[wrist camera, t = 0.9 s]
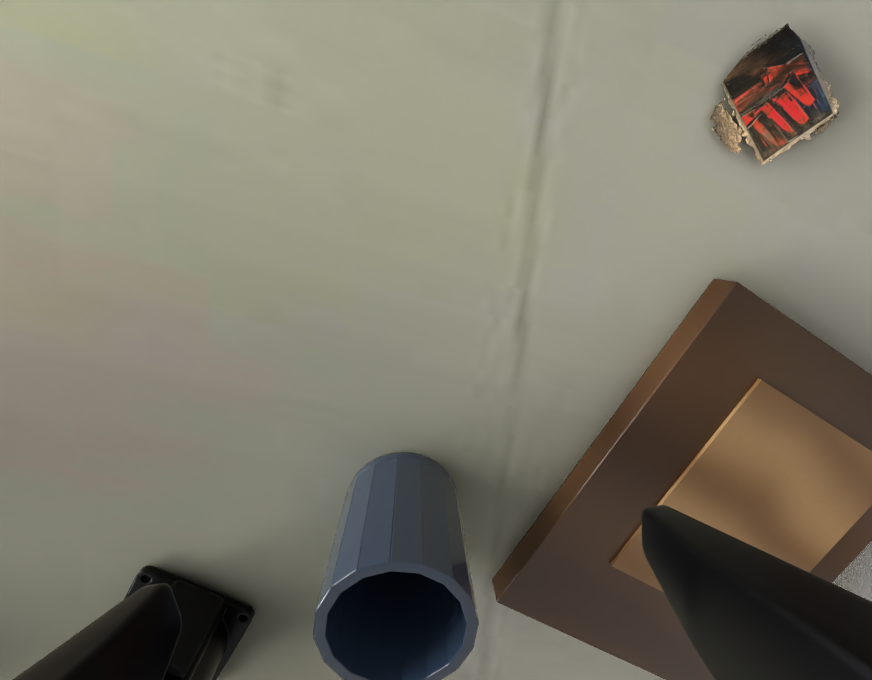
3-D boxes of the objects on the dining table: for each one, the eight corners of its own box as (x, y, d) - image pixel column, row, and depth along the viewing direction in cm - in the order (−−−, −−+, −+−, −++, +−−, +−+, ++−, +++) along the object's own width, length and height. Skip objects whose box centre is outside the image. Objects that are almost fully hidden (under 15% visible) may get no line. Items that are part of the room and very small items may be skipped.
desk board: (701, 678, 26) (720, 707, 25) (491, 580, 24) (497, 605, 22) (932, 427, 23) (972, 442, 21) (713, 277, 20) (740, 281, 18)
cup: (422, 564, 23) (425, 712, 16) (327, 520, 22) (285, 658, 15) (478, 482, 22) (508, 603, 15) (381, 433, 21) (363, 536, 14)
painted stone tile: (775, 16, 17) (785, 10, 17) (847, 104, 18) (858, 100, 18) (693, 111, 18) (700, 108, 18) (766, 190, 19) (775, 189, 19)
